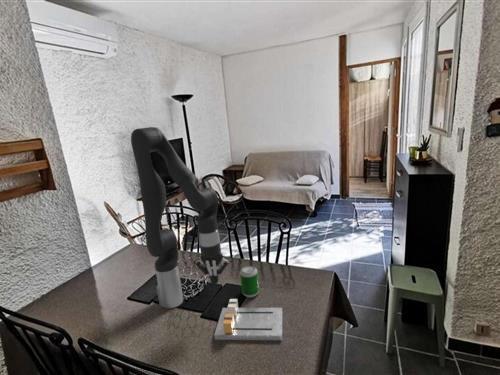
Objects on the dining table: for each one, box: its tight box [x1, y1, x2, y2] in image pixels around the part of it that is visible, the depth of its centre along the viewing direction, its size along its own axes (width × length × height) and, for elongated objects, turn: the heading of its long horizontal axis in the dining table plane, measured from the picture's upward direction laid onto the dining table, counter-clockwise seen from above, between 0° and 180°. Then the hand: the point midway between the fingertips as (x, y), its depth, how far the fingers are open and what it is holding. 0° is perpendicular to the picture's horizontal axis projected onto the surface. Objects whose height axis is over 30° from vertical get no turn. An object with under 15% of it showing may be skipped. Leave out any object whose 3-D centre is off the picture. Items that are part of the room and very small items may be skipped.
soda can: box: [239, 265, 260, 298], centre depth 129 cm, size 8×8×12 cm
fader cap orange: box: [223, 314, 235, 333], centre depth 107 cm, size 3×5×4 cm, turn 174°
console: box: [213, 307, 283, 341], centre depth 110 cm, size 24×16×2 cm, turn 84°
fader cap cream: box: [227, 298, 239, 316], centre depth 115 cm, size 3×5×4 cm, turn 174°
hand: (215, 283), depth 113 cm, fingers closed
